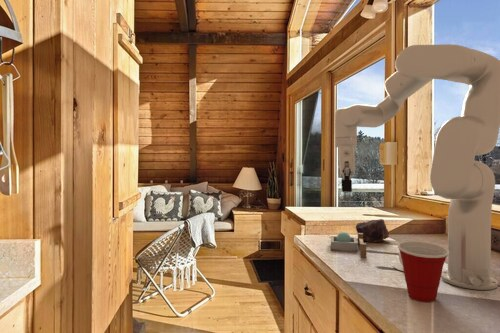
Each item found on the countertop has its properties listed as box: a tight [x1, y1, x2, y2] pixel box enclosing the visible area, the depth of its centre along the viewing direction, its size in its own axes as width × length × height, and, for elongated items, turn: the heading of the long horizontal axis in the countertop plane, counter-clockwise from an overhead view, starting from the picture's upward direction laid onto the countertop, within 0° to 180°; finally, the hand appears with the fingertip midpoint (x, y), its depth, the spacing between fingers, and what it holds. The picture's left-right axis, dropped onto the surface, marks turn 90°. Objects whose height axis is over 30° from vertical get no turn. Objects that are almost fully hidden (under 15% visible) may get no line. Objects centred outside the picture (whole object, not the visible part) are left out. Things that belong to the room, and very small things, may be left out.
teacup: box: [393, 250, 404, 272], centre depth 104 cm, size 10×10×5 cm
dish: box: [330, 235, 359, 253], centre depth 128 cm, size 9×9×3 cm
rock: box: [355, 218, 390, 244], centre depth 138 cm, size 12×9×10 cm
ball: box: [336, 231, 351, 242], centre depth 128 cm, size 5×5×5 cm
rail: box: [357, 233, 367, 259], centre depth 124 cm, size 18×2×4 cm, turn 166°
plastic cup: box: [397, 240, 449, 303], centre depth 82 cm, size 11×11×12 cm
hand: (346, 190), depth 127 cm, fingers open, 9 cm apart
